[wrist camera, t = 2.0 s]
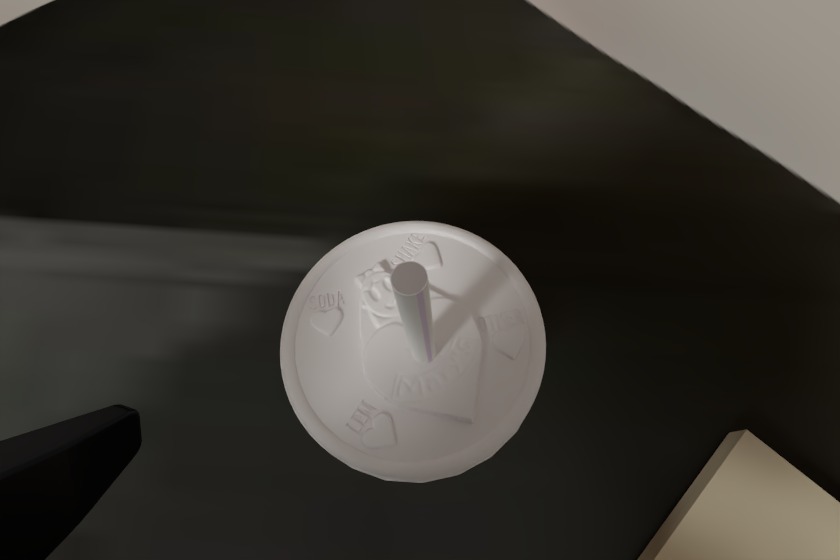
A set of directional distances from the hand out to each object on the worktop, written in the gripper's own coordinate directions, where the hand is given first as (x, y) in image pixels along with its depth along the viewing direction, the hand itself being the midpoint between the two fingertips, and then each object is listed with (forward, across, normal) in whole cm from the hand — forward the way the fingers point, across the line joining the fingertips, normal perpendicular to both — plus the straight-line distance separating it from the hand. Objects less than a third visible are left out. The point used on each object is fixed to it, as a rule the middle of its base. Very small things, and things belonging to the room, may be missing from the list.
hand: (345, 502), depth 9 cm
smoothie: (+10, 0, +5) cm, 12 cm away
